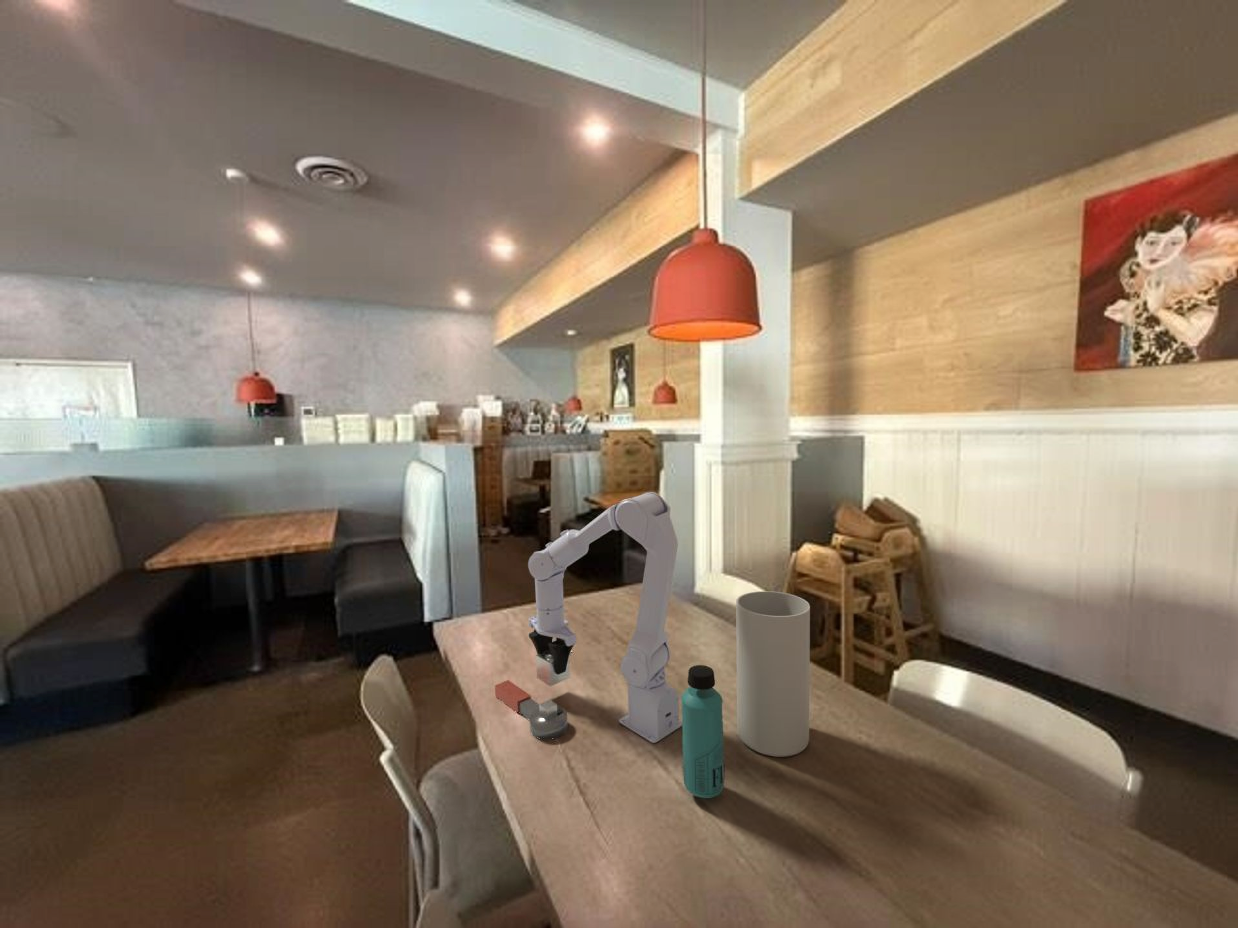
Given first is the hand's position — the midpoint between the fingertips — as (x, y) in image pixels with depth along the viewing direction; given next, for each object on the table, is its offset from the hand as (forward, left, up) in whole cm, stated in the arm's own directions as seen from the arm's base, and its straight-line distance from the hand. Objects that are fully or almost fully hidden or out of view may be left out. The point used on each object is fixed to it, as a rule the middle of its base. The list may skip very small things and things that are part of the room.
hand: (553, 668), depth 109 cm
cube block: (0, 0, -2) cm, 2 cm away
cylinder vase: (-40, -20, -6) cm, 45 cm away
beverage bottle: (-40, 0, -6) cm, 40 cm away
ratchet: (-2, +8, -6) cm, 10 cm away
